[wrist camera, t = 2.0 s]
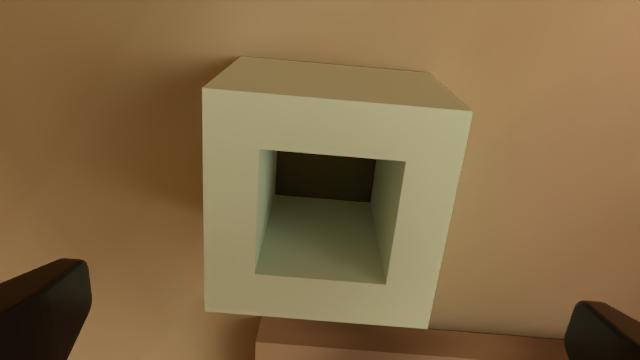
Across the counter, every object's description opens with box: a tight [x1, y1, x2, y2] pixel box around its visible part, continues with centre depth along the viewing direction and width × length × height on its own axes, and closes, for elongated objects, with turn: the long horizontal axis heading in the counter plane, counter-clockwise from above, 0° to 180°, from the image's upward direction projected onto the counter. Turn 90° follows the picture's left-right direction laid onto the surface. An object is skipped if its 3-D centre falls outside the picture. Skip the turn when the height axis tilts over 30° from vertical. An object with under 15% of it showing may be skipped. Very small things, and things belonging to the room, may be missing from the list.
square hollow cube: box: [202, 56, 473, 329], centre depth 14 cm, size 6×6×5 cm
